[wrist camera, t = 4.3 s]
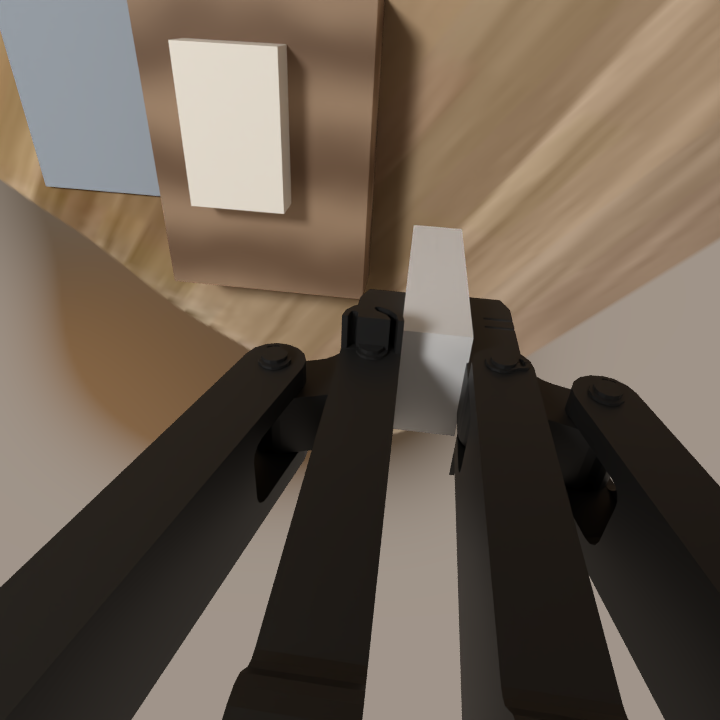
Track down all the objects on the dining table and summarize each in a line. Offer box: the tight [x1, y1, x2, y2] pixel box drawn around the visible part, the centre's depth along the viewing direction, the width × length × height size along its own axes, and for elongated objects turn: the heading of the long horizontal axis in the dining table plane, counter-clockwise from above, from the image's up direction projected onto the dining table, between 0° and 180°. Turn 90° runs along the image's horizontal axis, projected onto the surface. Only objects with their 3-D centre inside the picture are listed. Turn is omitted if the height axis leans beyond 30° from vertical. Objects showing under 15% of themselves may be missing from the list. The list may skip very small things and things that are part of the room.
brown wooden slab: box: [127, 0, 385, 299], centre depth 35 cm, size 18×14×4 cm
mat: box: [0, 0, 160, 196], centre depth 36 cm, size 13×11×1 cm
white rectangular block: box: [168, 38, 291, 214], centre depth 31 cm, size 9×6×2 cm, turn 178°
